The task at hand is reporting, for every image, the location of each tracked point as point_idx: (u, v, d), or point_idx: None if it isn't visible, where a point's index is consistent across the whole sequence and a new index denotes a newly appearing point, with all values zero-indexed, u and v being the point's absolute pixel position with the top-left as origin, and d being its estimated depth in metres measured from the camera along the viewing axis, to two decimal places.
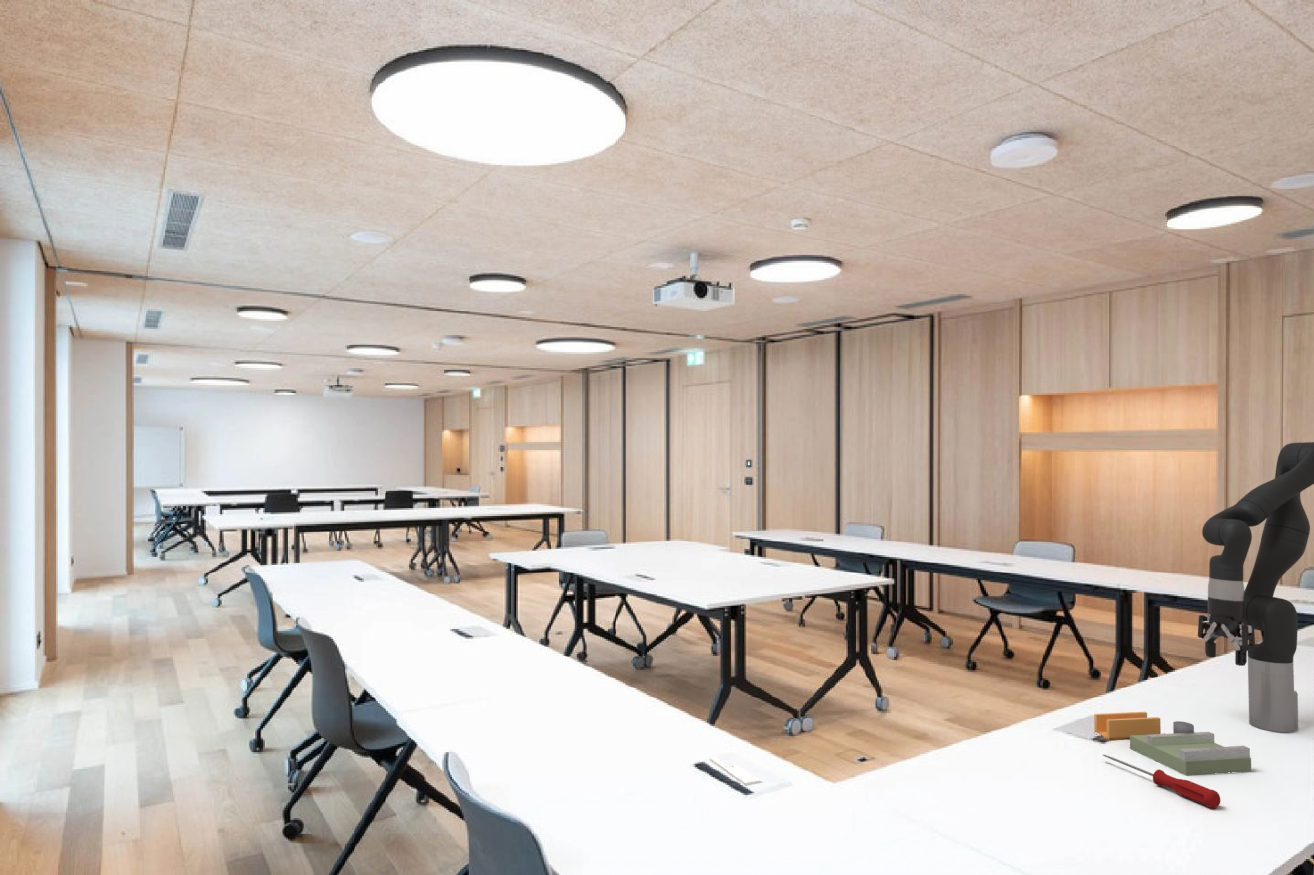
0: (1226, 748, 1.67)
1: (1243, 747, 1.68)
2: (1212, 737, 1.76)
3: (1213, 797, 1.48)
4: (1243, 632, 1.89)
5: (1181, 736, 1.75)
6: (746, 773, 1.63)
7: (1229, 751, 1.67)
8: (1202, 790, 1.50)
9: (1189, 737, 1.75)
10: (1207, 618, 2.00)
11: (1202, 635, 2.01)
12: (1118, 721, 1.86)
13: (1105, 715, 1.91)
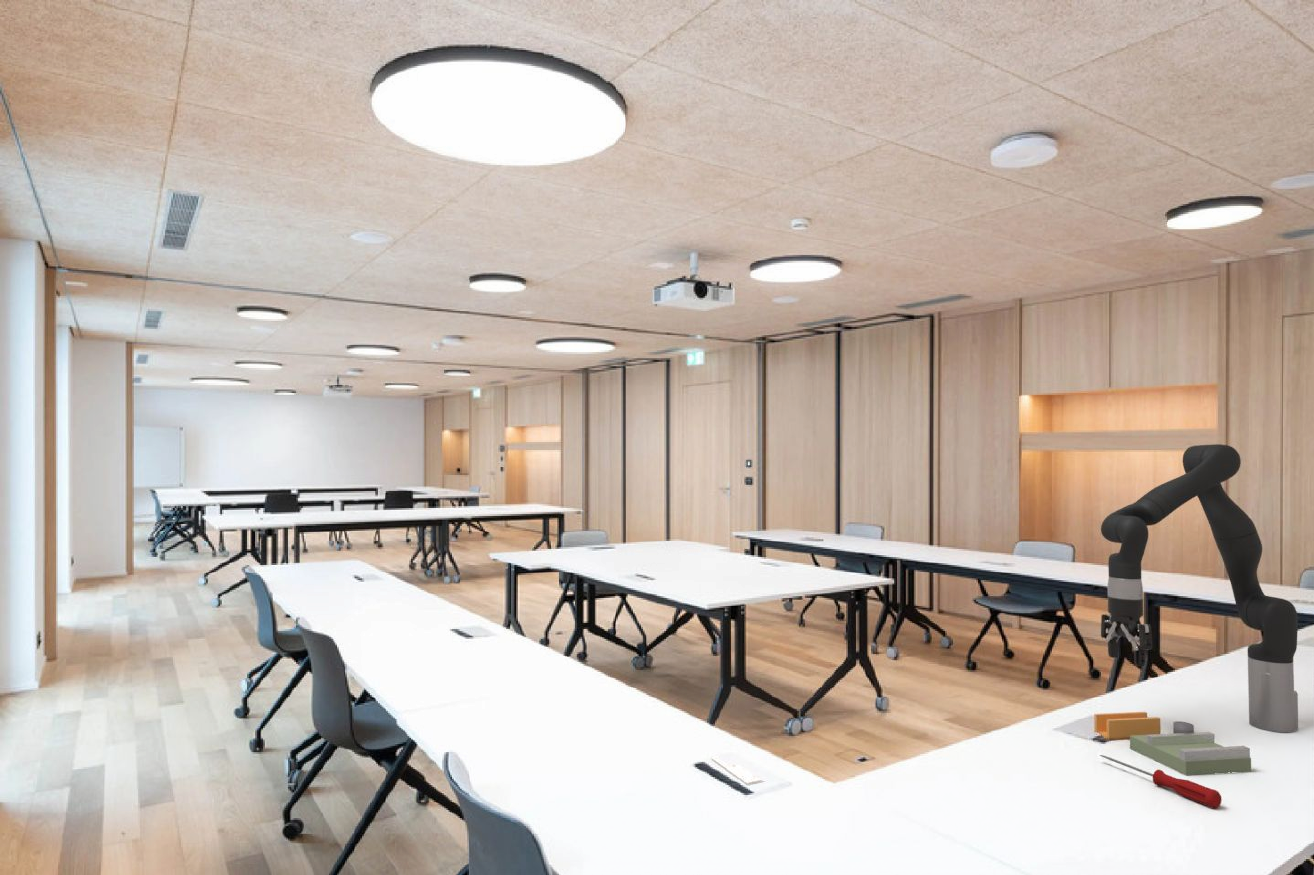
0: (1226, 748, 1.67)
1: (1243, 747, 1.68)
2: (1212, 737, 1.76)
3: (1215, 797, 1.49)
4: (1140, 632, 1.84)
5: (1181, 736, 1.75)
6: (747, 773, 1.63)
7: (1229, 751, 1.67)
8: (1203, 790, 1.50)
9: (1189, 737, 1.75)
10: (1109, 617, 1.95)
11: (1105, 635, 1.96)
12: (1118, 721, 1.86)
13: (1105, 715, 1.91)
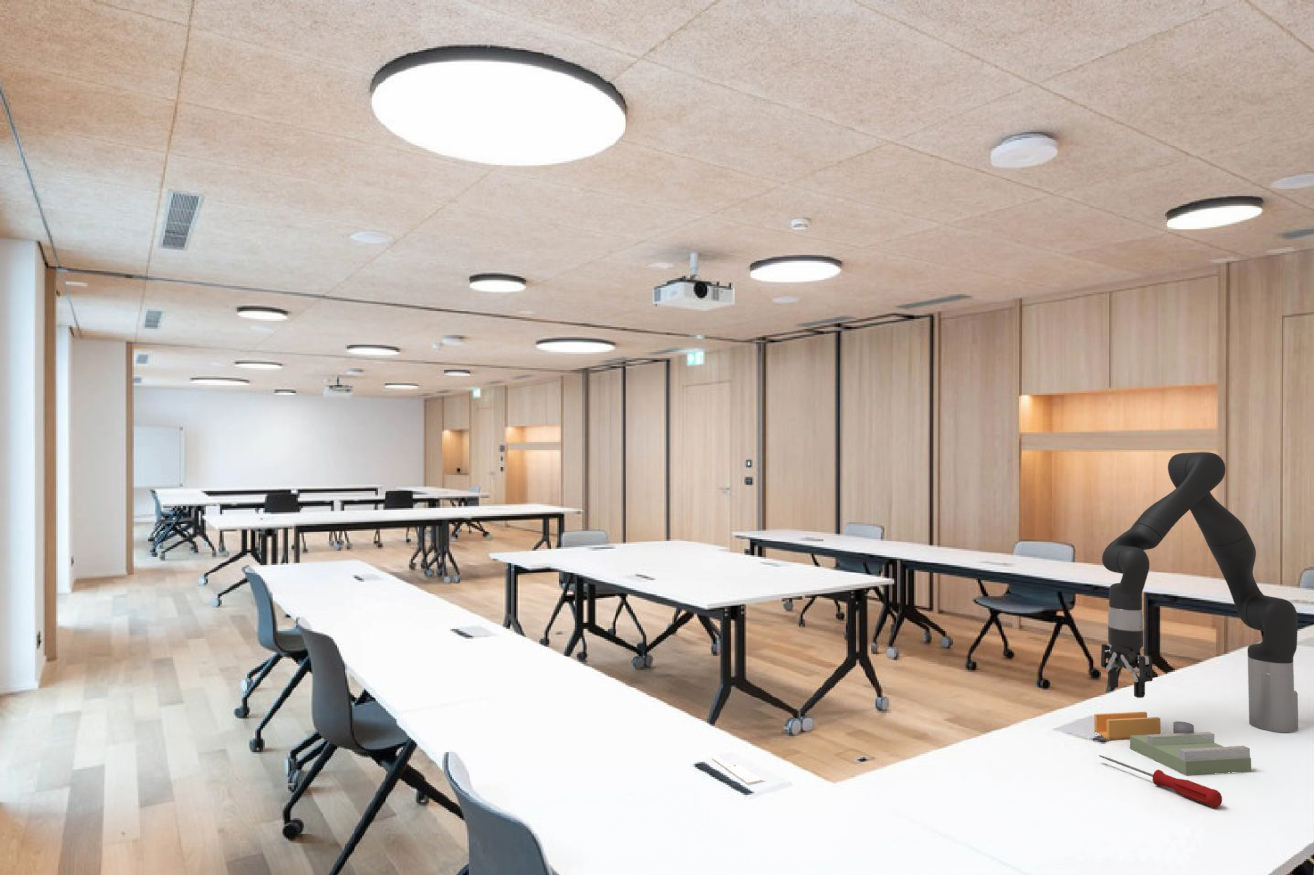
0: (1226, 748, 1.67)
1: (1243, 747, 1.68)
2: (1212, 737, 1.76)
3: (1216, 797, 1.49)
4: (1140, 663, 1.84)
5: (1181, 736, 1.75)
6: (748, 772, 1.64)
7: (1229, 751, 1.67)
8: (1204, 790, 1.50)
9: (1189, 737, 1.75)
10: (1109, 647, 1.95)
11: (1105, 665, 1.96)
12: (1118, 721, 1.86)
13: (1105, 715, 1.91)
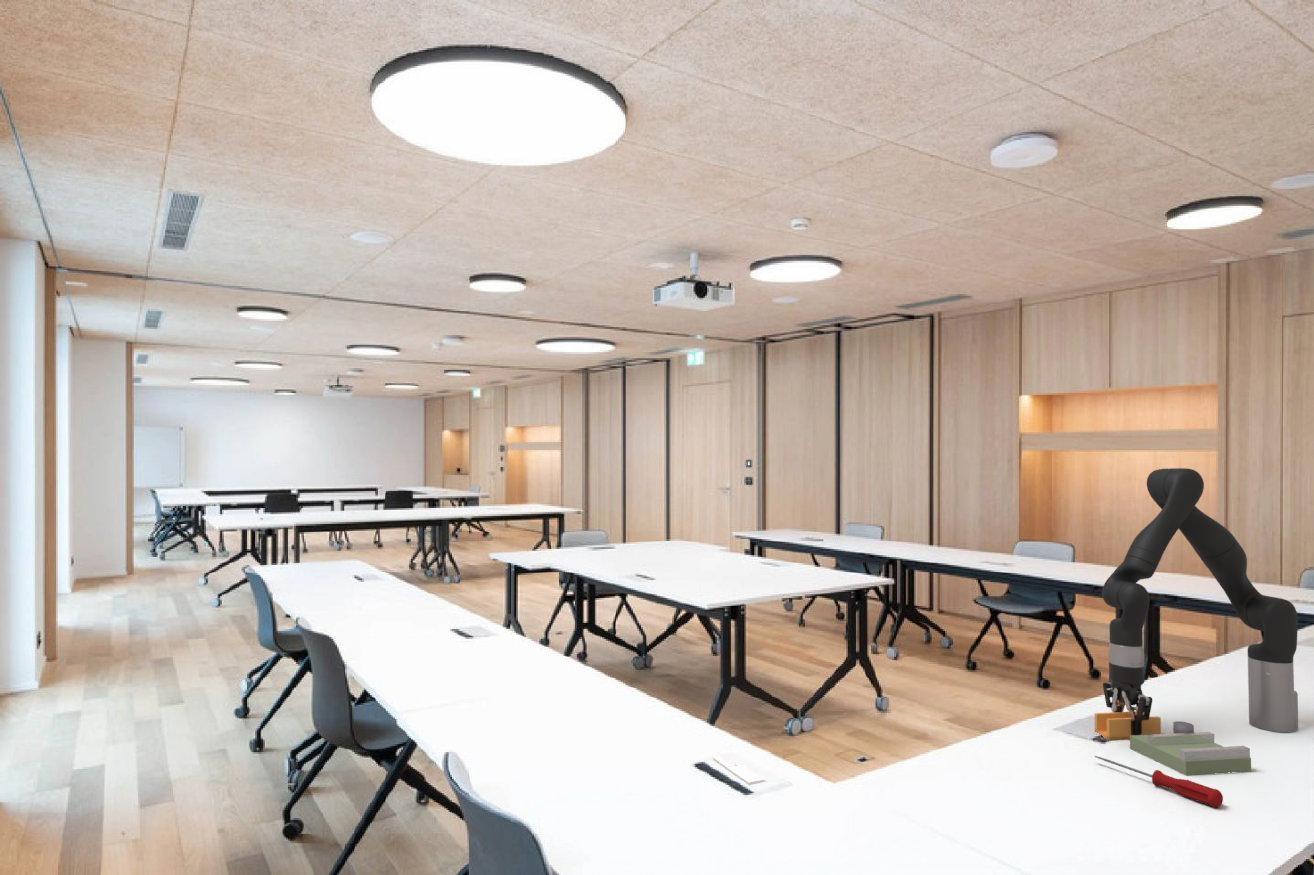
0: (1226, 748, 1.67)
1: (1243, 747, 1.68)
2: (1212, 737, 1.76)
3: (1217, 797, 1.49)
4: (1140, 704, 1.84)
5: (1181, 736, 1.75)
6: (749, 772, 1.64)
7: (1229, 751, 1.67)
8: (1205, 790, 1.50)
9: (1189, 737, 1.75)
10: (1110, 685, 1.95)
11: (1110, 705, 1.94)
12: (1118, 720, 1.86)
13: (1105, 714, 1.91)
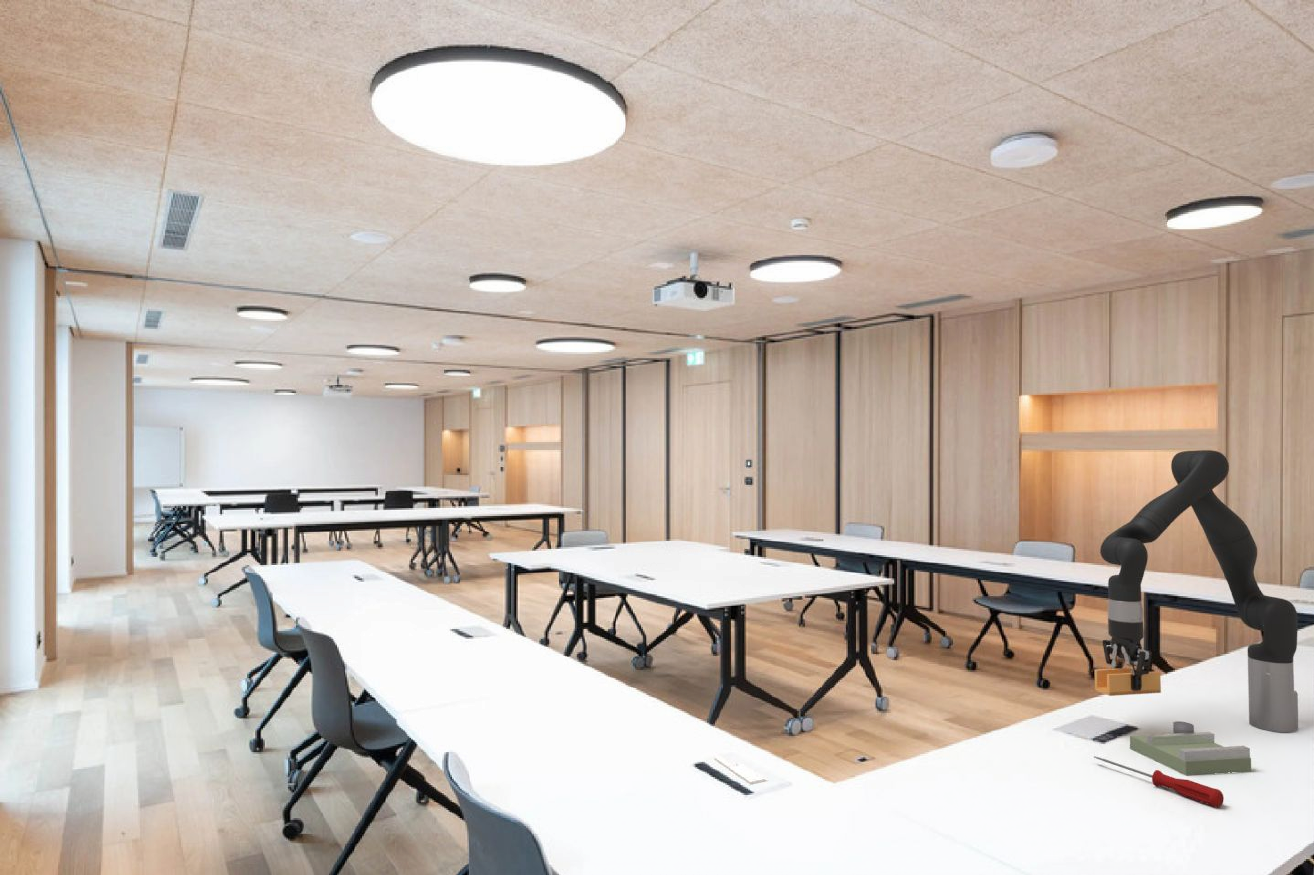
0: (1226, 748, 1.67)
1: (1243, 747, 1.68)
2: (1212, 737, 1.76)
3: (1218, 797, 1.49)
4: (1139, 658, 1.84)
5: (1181, 736, 1.75)
6: (750, 772, 1.64)
7: (1229, 751, 1.67)
8: (1206, 790, 1.50)
9: (1189, 737, 1.75)
10: (1110, 641, 1.95)
11: (1110, 661, 1.94)
12: (1118, 675, 1.87)
13: (1105, 670, 1.91)
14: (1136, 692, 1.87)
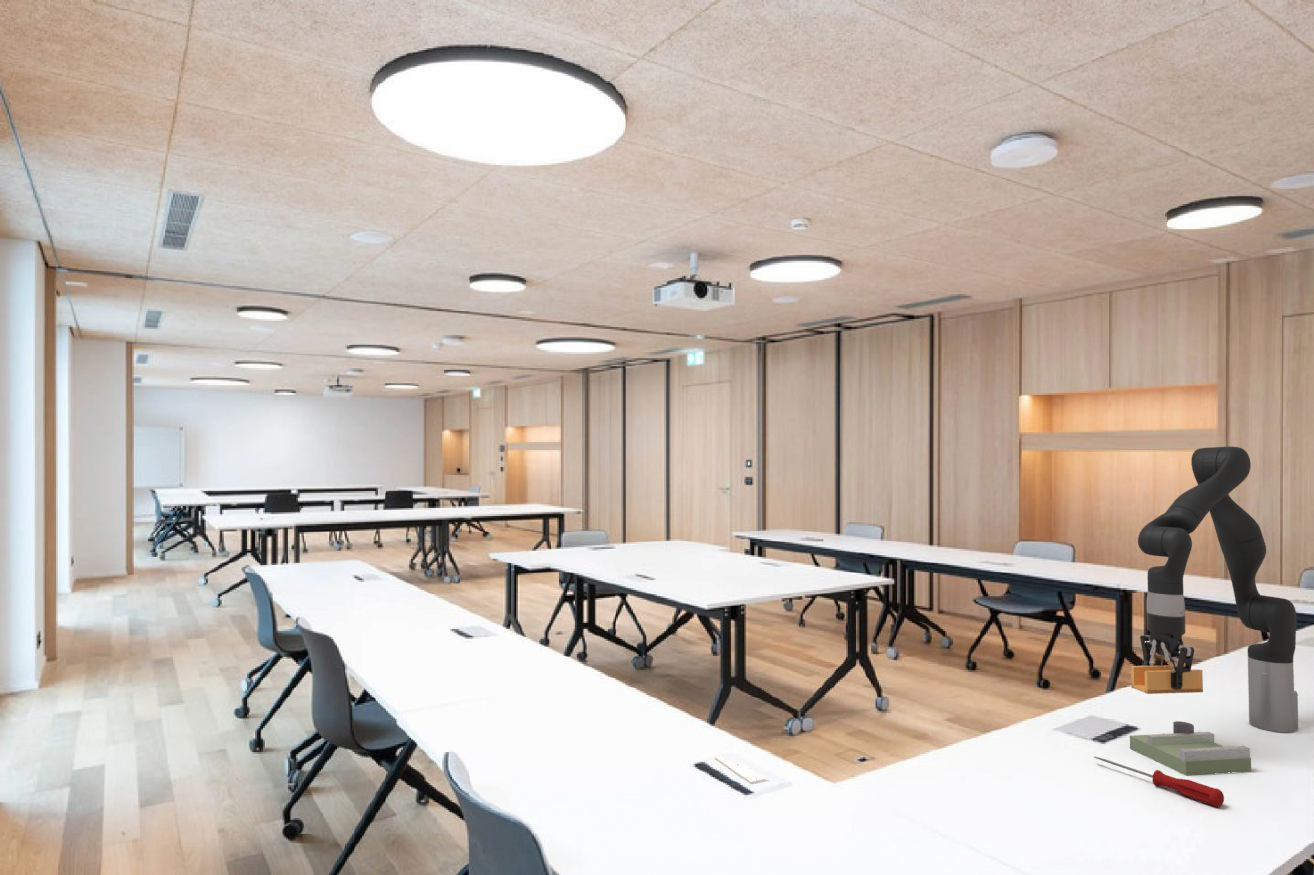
0: (1226, 748, 1.67)
1: (1243, 747, 1.68)
2: (1212, 737, 1.76)
3: (1219, 796, 1.49)
4: (1181, 655, 1.73)
5: (1181, 736, 1.75)
6: (751, 772, 1.64)
7: (1229, 751, 1.67)
8: (1207, 789, 1.51)
9: (1189, 737, 1.75)
10: (1148, 637, 1.84)
11: (1148, 658, 1.83)
12: (1157, 673, 1.76)
13: (1143, 667, 1.80)
14: (1176, 691, 1.76)
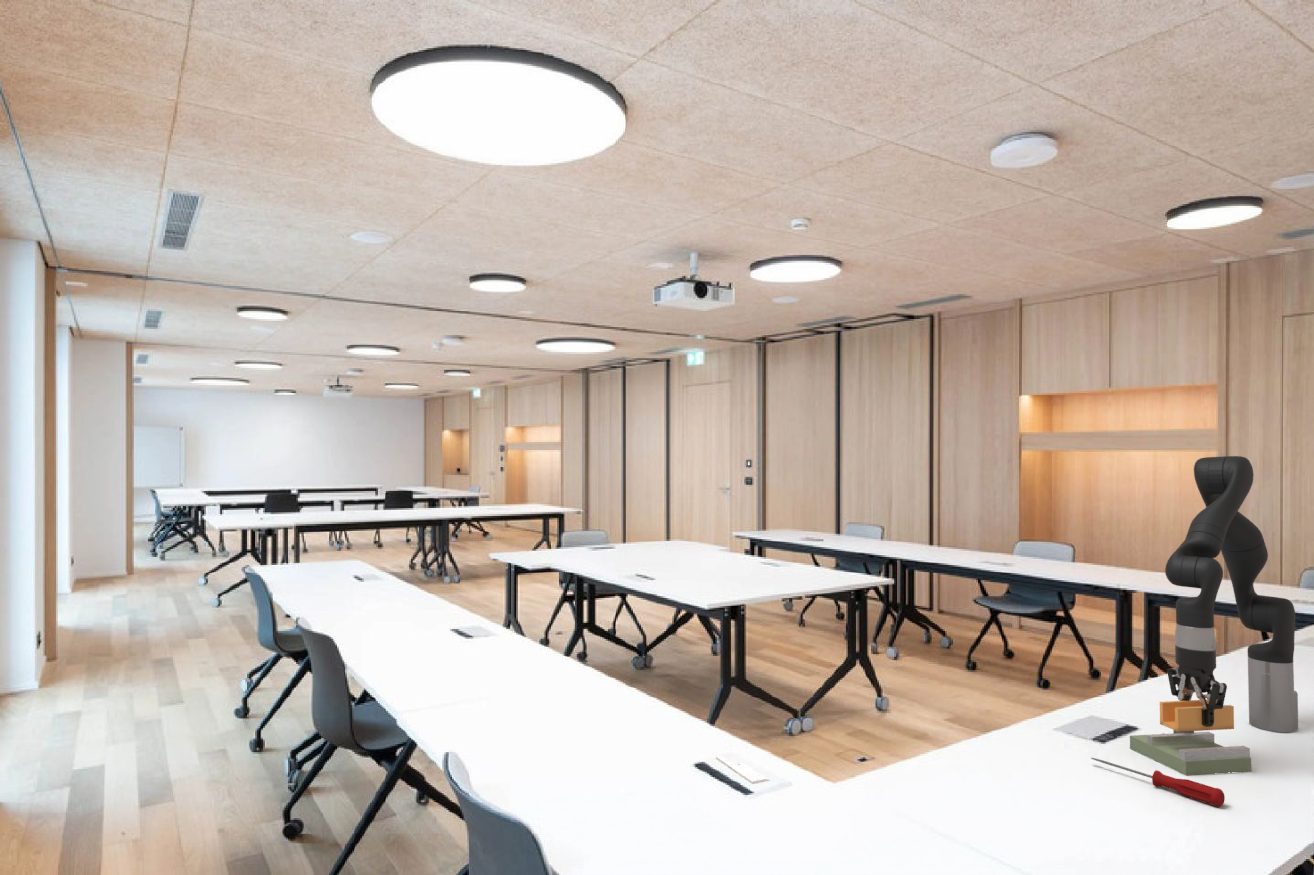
0: (1226, 748, 1.67)
1: (1243, 747, 1.68)
2: (1212, 737, 1.76)
3: (1220, 796, 1.49)
4: (1213, 691, 1.66)
5: (1181, 736, 1.75)
6: (752, 771, 1.64)
7: (1229, 751, 1.67)
8: (1208, 789, 1.51)
9: (1189, 737, 1.75)
10: (1176, 671, 1.77)
11: (1176, 692, 1.76)
12: (1188, 709, 1.69)
13: (1172, 703, 1.73)
14: (1207, 728, 1.69)
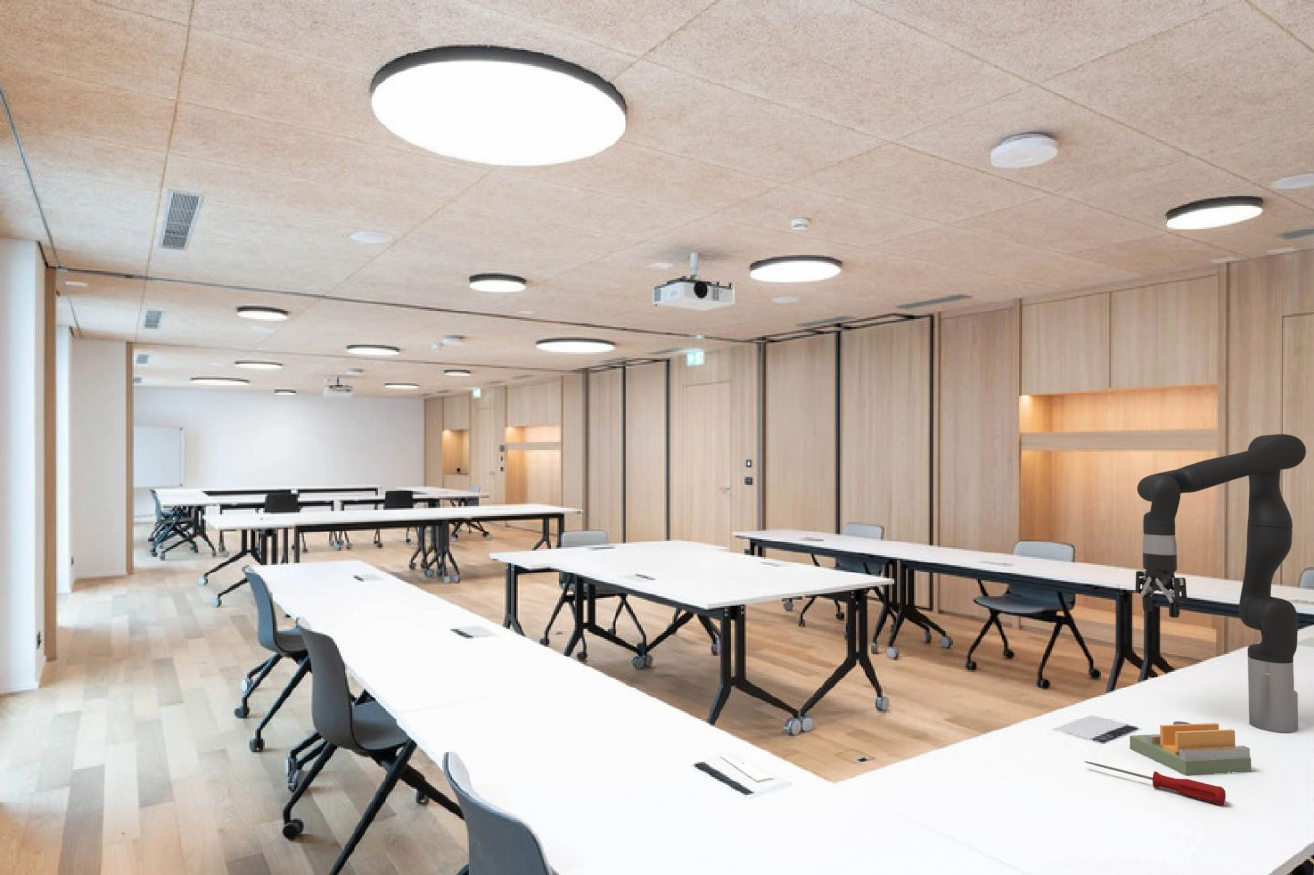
0: (1226, 748, 1.67)
1: (1243, 747, 1.68)
2: None
3: (1224, 794, 1.50)
4: (1175, 585, 1.94)
5: None
6: (757, 770, 1.65)
7: (1229, 751, 1.67)
8: (1211, 788, 1.51)
9: None
10: (1143, 573, 2.05)
11: (1139, 590, 2.06)
12: (1188, 733, 1.69)
13: (1172, 727, 1.73)
14: None
